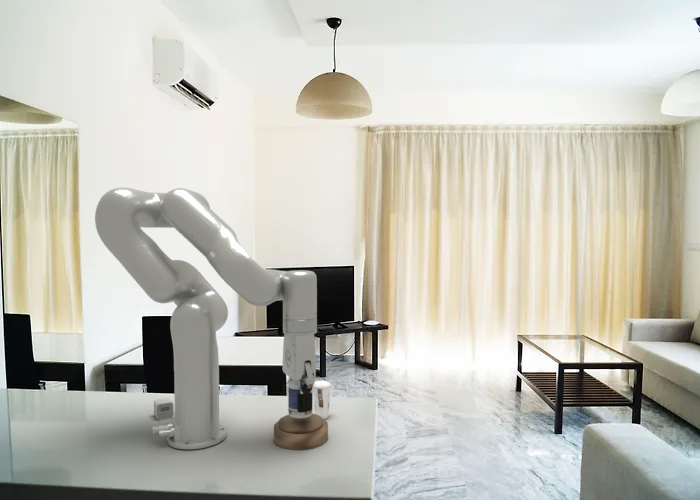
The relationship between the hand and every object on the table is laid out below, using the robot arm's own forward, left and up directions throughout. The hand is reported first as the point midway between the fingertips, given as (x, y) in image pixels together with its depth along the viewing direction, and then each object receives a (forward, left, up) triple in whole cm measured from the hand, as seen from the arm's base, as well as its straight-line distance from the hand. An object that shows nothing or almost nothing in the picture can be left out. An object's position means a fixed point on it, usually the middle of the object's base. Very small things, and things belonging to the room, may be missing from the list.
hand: (300, 405), depth 108 cm
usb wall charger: (-27, +29, -8) cm, 41 cm away
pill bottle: (0, 0, -2) cm, 2 cm away
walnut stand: (0, 0, -7) cm, 7 cm away
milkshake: (+10, +10, -8) cm, 16 cm away
